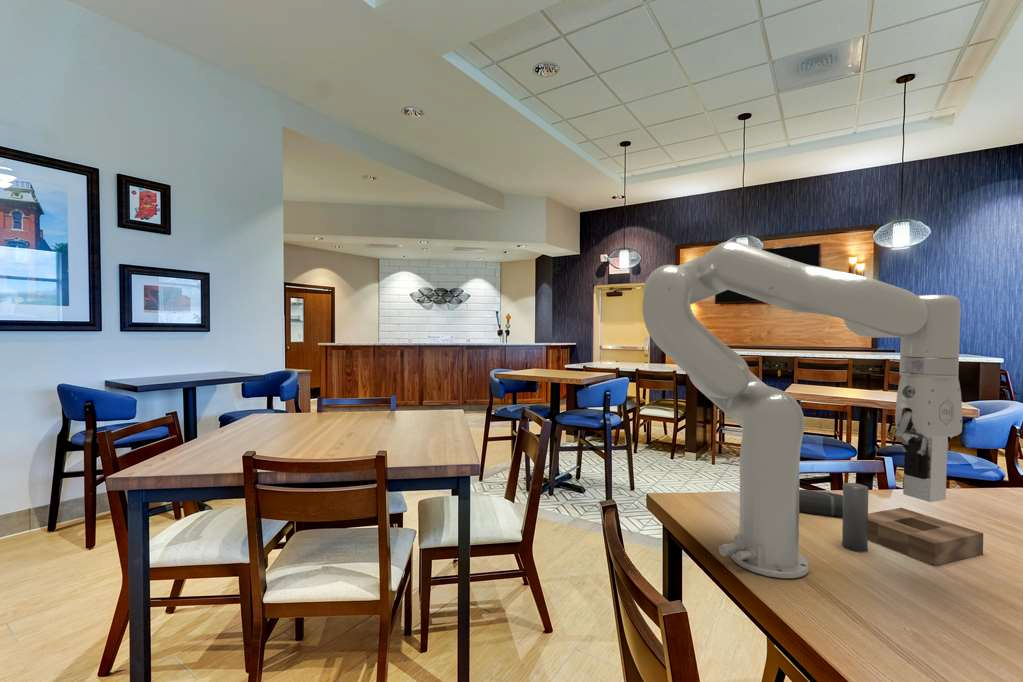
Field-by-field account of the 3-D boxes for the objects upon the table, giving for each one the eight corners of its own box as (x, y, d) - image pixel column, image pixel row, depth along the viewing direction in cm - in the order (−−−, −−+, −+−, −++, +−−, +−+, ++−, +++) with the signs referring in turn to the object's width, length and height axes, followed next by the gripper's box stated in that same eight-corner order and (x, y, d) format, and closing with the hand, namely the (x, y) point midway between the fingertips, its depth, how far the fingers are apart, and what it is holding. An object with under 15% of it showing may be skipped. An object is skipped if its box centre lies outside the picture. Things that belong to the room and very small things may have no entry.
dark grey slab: (855, 539, 97) (746, 523, 106) (838, 509, 114) (745, 497, 123) (856, 513, 97) (746, 499, 106) (838, 486, 114) (745, 476, 123)
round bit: (858, 553, 90) (858, 490, 90) (837, 544, 94) (838, 483, 94) (872, 550, 91) (873, 488, 91) (851, 541, 95) (852, 481, 95)
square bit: (930, 502, 79) (932, 429, 78) (903, 494, 82) (905, 425, 82) (945, 499, 80) (948, 428, 80) (918, 492, 84) (920, 424, 83)
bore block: (935, 566, 85) (935, 543, 85) (855, 534, 98) (855, 515, 98) (983, 554, 90) (983, 533, 90) (901, 525, 103) (901, 507, 103)
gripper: (921, 370, 74) (917, 486, 75) (986, 369, 80) (982, 478, 80) (871, 366, 82) (867, 473, 82) (934, 366, 87) (930, 466, 87)
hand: (924, 474), depth 81 cm, fingers closed on square bit, 4 cm apart
